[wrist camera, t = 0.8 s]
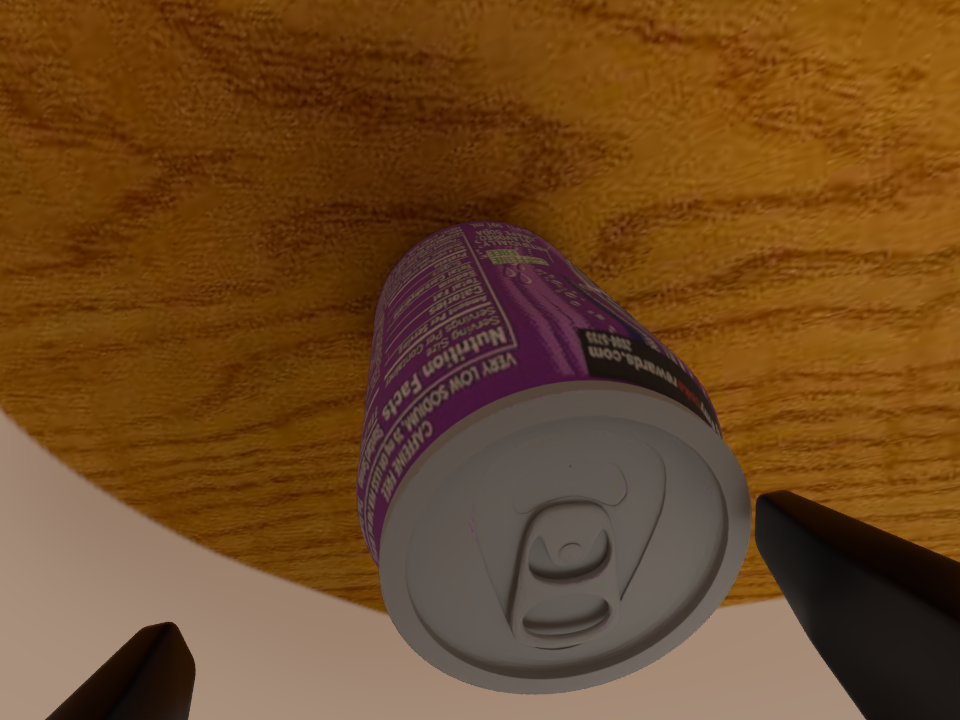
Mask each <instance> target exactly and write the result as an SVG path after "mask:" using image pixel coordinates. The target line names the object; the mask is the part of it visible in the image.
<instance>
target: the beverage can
mask: <svg viewBox="0 0 960 720" xmlns="http://www.w3.org/2000/svg"><path fill="white" fill-rule="evenodd" d="M357 510H358V517H359V522H360V526H361V530H362V534H363V537H364V539H365V542H366V545H367V547H368V550H369V552H370V554H371V556H372V558H373V560H374V562H375V563H376V565H377V567H378V569H379V579H380V586H381V592H382V596H383V600H384V603H385V606H386V609H387V611H388V614H389V616H390V618H391V620H392V622H393V624H394V625H395V627H396V629H397V630H398V632H399V633H400V635H401V636H402V637H403V639H404V640H405V641H406V642H407V643H408V645H409V646H410V647H411V648H412V649H413V650H414V651H415V652H416V653H417V654H419V656H421V657H422V658H423V659H424V660H426V661H427V662H428V663H430V664H431V665H432V666H434V667H435V668H437V669H439V670H440V671H442V672H444V673H446V674H447V675H449V676H451V677H453V678H456V679H458V680H460V681H463V682H466V683H468V684H471V685H474V686H478V687H481V688H485V689H489V690H494V691H499V692H506V693H516V694H553V693H563V692H570V691H576V690H581V689H586V688H590V687H593V686H597V685H601V684H604V683H607V682H611V681H613V680H616V679H619V678H621V677H624V676H626V675H629V674H631V673H633V672H635V671H638V670H639V669H642V668H643V667H646V666H648V665H649V664H651V663H653V662H655V661H656V660H658V659H660V658H661V657H663V656H664V655H666V654H667V653H669V652H670V651H672V650H673V649H675V648H676V647H677V646H679V645H680V644H681V643H683V642H684V641H685V640H686V639H688V638H689V637H690V636H691V635H692V634H693V633H694V632H695V631H697V630H698V629H699V628H700V627H701V626H702V625H703V624H704V623H705V622H706V620H707V619H708V618H709V617H710V616H711V615H712V614H713V612H714V611H715V610H716V609H717V608H718V606H719V605H720V604H721V602H722V601H723V600H724V598H725V597H726V595H727V594H728V592H729V590H730V589H731V587H732V585H733V583H734V582H735V580H736V578H737V576H738V573H739V571H740V569H741V567H742V564H743V561H744V558H745V556H746V552H747V548H748V544H749V539H750V533H751V522H752V511H751V500H750V494H749V490H748V486H747V482H746V479H745V476H744V474H743V471H742V469H741V467H740V465H739V463H738V461H737V459H736V458H735V456H734V454H733V453H732V451H731V450H730V449H729V447H728V446H727V444H726V443H725V442H724V441H723V438H722V433H721V429H720V424H719V421H718V418H717V415H716V412H715V410H714V407H713V405H712V403H711V400H710V398H709V397H708V395H707V393H706V391H705V389H704V388H703V386H702V385H701V383H700V382H699V380H698V379H697V378H696V376H695V375H694V374H693V373H692V372H691V371H690V369H689V368H688V367H687V366H686V365H685V364H684V362H682V361H681V360H680V359H679V358H678V357H677V356H676V355H675V354H674V353H673V352H672V351H671V350H670V349H668V348H667V347H666V346H665V345H664V344H663V343H662V342H661V341H659V340H658V339H657V338H656V337H655V336H654V335H653V334H652V333H650V332H649V331H648V330H647V329H646V328H645V327H644V326H643V325H641V324H640V323H639V322H638V321H637V320H636V319H635V318H633V317H632V316H631V315H630V314H629V313H628V312H627V311H626V310H624V309H623V308H622V307H621V306H620V305H619V304H618V303H617V302H615V301H614V300H613V299H612V298H611V297H610V296H609V295H608V294H606V293H605V292H604V291H603V290H602V289H601V288H600V287H598V286H597V285H596V284H595V283H594V282H593V281H592V280H591V279H589V278H588V277H587V276H586V275H585V274H584V273H583V272H582V271H580V270H579V269H578V268H577V267H576V266H575V265H574V264H572V263H571V262H570V261H569V260H568V259H567V258H566V257H565V256H563V255H562V254H561V253H560V252H559V251H558V250H557V249H556V248H554V247H553V246H552V245H551V244H550V243H548V242H547V241H546V240H544V239H543V238H541V237H540V236H538V235H536V234H535V233H533V232H531V231H529V230H526V229H524V228H521V227H518V226H515V225H512V224H508V223H502V222H495V221H473V222H466V223H461V224H457V225H453V226H450V227H447V228H444V229H442V230H439V231H437V232H435V233H433V234H431V235H429V236H428V237H426V238H424V239H423V240H421V241H420V242H418V243H417V244H416V245H414V246H413V247H412V248H411V249H410V250H409V251H408V252H407V253H406V254H405V255H404V256H403V257H402V258H401V259H400V260H399V261H398V262H397V264H396V265H395V266H394V268H393V269H392V271H391V272H390V274H389V275H388V277H387V279H386V281H385V283H384V285H383V287H382V290H381V292H380V296H379V299H378V302H377V307H376V313H375V322H374V331H373V340H372V349H371V358H370V367H369V376H368V385H367V394H366V403H365V412H364V421H363V430H362V439H361V448H360V457H359V466H358V475H357Z"/></svg>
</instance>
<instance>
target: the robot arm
mask: <svg viewBox="0 0 960 720" xmlns="http://www.w3.org/2000/svg"><path fill="white" fill-rule="evenodd" d="M755 541H756V545H757V548H758V550H759V552H760V554H761V556H762V557H763V559H764V561H765V563H766V564H767V566H768V568H769V570H770V571H771V573H772V575H773V577H774V578H775V580H776V582H777V584H778V586H779V587H780V589H781V591H782V593H783V594H784V596H785V598H786V600H787V601H788V603H789V605H790V606H791V608H792V610H793V612H794V614H795V615H796V617H797V619H798V620H799V622H800V624H801V626H802V627H803V629H804V631H805V632H806V634H807V636H808V637H809V639H810V641H811V642H812V644H813V645H814V647H815V648H816V649H817V651H818V652H819V654H820V655H821V657H822V658H823V660H824V661H825V662H826V664H827V665H828V667H829V668H830V669H831V671H832V672H833V674H834V675H835V677H836V678H837V679H838V681H839V682H840V684H841V685H842V686H843V688H844V689H845V691H846V692H847V693H848V695H849V696H850V698H851V699H852V700H853V702H854V703H855V705H856V706H857V708H858V709H859V710H860V712H861V713H862V715H863V716H864V717H865V719H866V720H960V562H957V561H955V560H952V559H950V558H948V557H945V556H943V555H940V554H938V553H936V552H933V551H931V550H928V549H926V548H924V547H921V546H919V545H916V544H914V543H912V542H909V541H907V540H905V539H902V538H900V537H897V536H895V535H893V534H890V533H888V532H885V531H883V530H881V529H878V528H876V527H873V526H871V525H869V524H866V523H864V522H861V521H859V520H857V519H854V518H852V517H849V516H847V515H845V514H842V513H840V512H837V511H835V510H833V509H830V508H828V507H825V506H823V505H821V504H818V503H816V502H813V501H811V500H809V499H806V498H804V497H801V496H799V495H797V494H794V493H792V492H789V491H786V490H779V491H774V492H770V493H765V494H762V495H760V496H759V497H758V498H757V501H756V517H755ZM195 671H196V670H195V662H194V659H193V656H192V654H191V652H190V650H189V649H188V646H187V644H186V642H185V641H184V638H183V636H182V634H181V632H180V630H179V628H178V627H177V625H176V624H174V623H173V622H165V623H160V624H155V625H150V626H147V627H144V628H142V629H141V630H140V631H138V632H137V633H136V634H135V635H134V636H133V637H132V638H131V639H130V640H129V641H128V642H127V643H126V644H124V645H123V646H122V647H121V648H120V649H119V650H118V651H117V652H116V653H115V654H114V655H113V656H112V657H111V658H110V659H109V660H108V661H107V662H106V663H105V664H103V665H102V666H101V667H100V668H99V669H98V670H97V671H96V672H95V673H94V674H93V675H92V676H91V677H90V678H89V679H88V680H87V681H85V683H83V684H82V685H81V686H80V687H79V688H78V689H77V690H76V691H75V692H74V693H73V694H72V695H71V696H70V697H69V698H68V699H66V700H65V701H64V702H63V703H62V704H61V705H60V706H59V707H58V708H57V709H56V710H55V711H54V712H53V713H52V714H51V715H50V716H49V717H47V718H46V719H45V720H188V716H189V711H190V705H191V699H192V693H193V687H194V681H195Z"/></svg>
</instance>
